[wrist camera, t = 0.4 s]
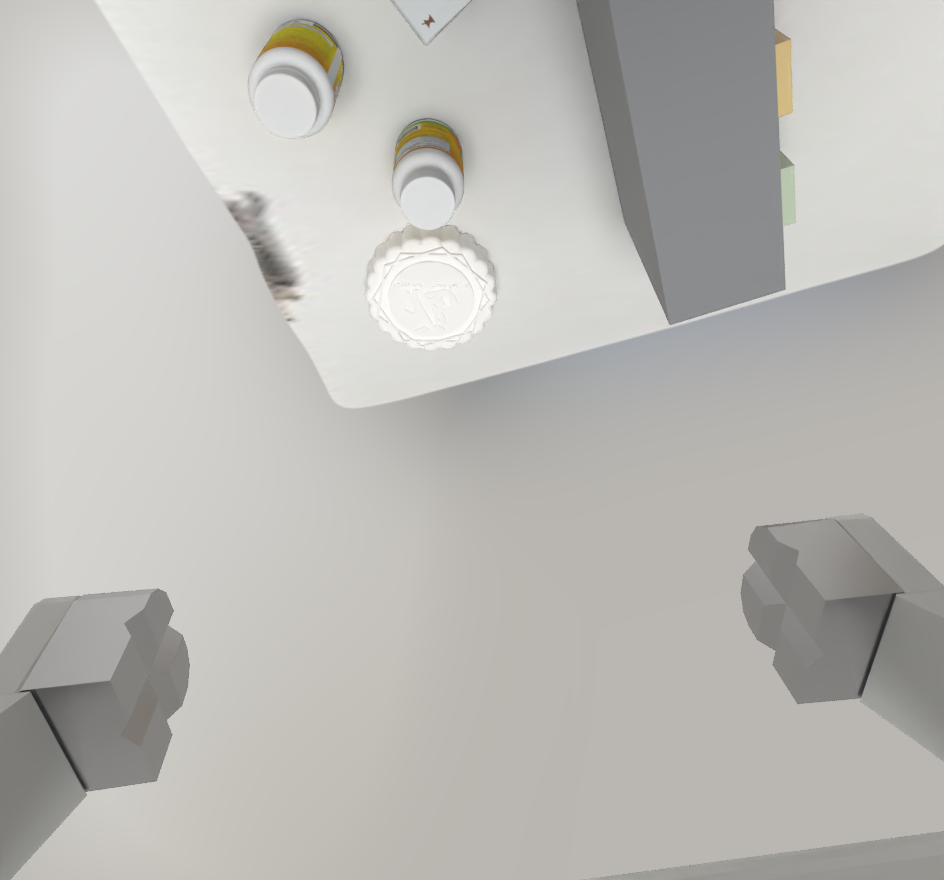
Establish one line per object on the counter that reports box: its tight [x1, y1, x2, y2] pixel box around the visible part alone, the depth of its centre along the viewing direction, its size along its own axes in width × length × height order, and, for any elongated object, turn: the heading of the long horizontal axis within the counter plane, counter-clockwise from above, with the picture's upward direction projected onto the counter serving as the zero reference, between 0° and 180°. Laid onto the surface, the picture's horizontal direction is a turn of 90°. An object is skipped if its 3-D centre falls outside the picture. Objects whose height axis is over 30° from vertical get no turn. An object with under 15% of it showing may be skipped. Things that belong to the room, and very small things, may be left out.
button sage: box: [780, 151, 796, 226], centre depth 49 cm, size 3×4×4 cm
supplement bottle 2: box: [392, 119, 464, 230], centre depth 52 cm, size 5×5×10 cm
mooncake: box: [365, 225, 497, 351], centre depth 62 cm, size 12×12×4 cm
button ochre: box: [775, 29, 793, 117], centre depth 44 cm, size 3×4×4 cm
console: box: [576, 0, 786, 325], centre depth 45 cm, size 8×24×16 cm, turn 20°
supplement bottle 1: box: [248, 20, 344, 139], centre depth 46 cm, size 6×6×10 cm
